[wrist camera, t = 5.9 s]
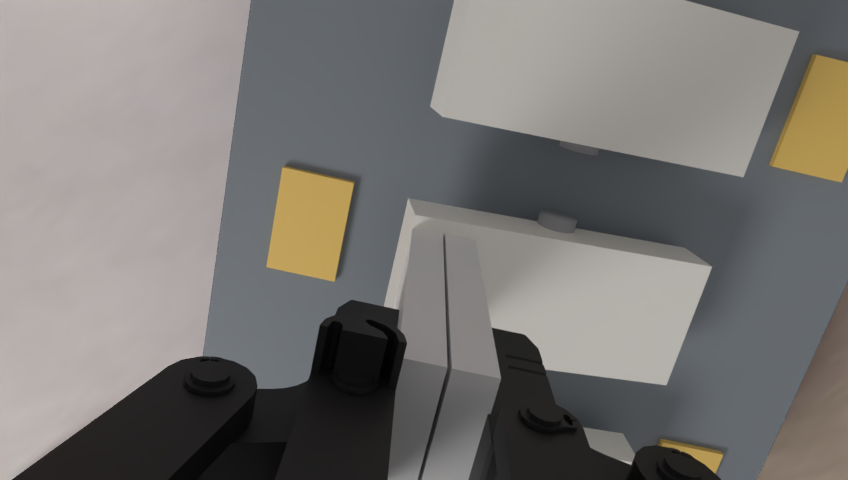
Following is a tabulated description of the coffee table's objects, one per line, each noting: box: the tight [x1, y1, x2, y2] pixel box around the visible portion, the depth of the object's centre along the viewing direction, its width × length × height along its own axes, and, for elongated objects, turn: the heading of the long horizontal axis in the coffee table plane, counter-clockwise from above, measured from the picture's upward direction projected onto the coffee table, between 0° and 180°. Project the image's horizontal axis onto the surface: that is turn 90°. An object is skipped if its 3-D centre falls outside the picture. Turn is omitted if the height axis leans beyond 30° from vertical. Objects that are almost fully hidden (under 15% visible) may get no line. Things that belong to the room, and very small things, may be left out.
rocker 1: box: [430, 0, 799, 177], centre depth 16 cm, size 8×4×2 cm, turn 77°
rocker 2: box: [384, 198, 712, 385], centre depth 18 cm, size 8×4×2 cm, turn 77°
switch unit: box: [203, 0, 848, 480], centre depth 22 cm, size 18×18×5 cm
